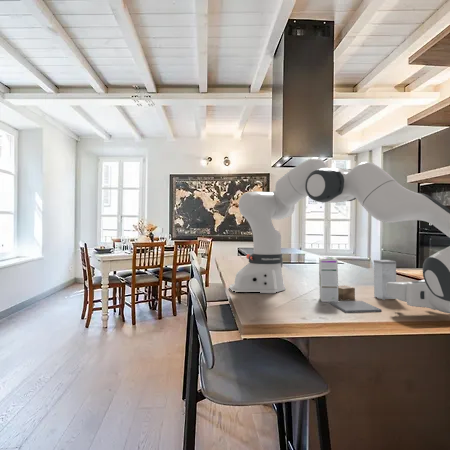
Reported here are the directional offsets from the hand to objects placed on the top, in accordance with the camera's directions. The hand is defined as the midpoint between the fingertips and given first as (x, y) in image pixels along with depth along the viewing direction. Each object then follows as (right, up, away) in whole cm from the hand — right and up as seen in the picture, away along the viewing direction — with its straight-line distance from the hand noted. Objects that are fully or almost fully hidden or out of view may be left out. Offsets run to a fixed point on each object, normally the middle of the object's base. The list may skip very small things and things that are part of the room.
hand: (406, 284), depth 102 cm
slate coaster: (-17, -7, -1) cm, 18 cm away
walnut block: (-15, -7, +12) cm, 21 cm away
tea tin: (-1, -7, +11) cm, 13 cm away
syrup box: (-22, -7, +8) cm, 24 cm away
